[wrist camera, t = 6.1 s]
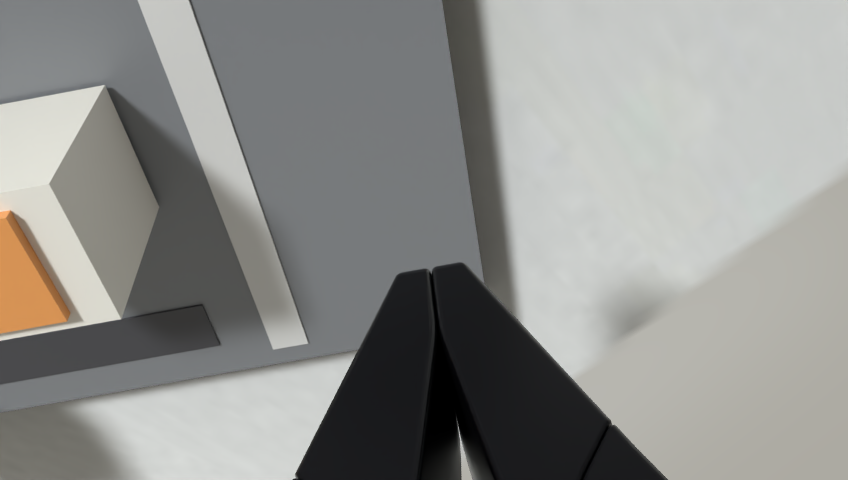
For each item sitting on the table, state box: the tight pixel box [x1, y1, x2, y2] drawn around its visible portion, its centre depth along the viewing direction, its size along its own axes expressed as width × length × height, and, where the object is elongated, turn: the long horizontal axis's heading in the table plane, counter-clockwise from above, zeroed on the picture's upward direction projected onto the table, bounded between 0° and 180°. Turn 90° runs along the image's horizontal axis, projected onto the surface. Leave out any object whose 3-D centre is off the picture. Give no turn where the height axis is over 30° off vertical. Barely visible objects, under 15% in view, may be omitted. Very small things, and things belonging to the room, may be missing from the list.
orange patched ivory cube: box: [0, 85, 159, 341], centre depth 13 cm, size 3×3×3 cm
